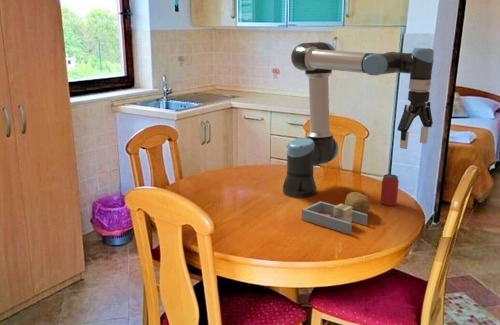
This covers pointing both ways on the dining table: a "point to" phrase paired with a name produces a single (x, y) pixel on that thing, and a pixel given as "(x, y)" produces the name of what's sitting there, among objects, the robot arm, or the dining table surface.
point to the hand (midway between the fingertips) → (413, 145)
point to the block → (343, 212)
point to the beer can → (389, 190)
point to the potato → (358, 202)
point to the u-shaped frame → (322, 216)
